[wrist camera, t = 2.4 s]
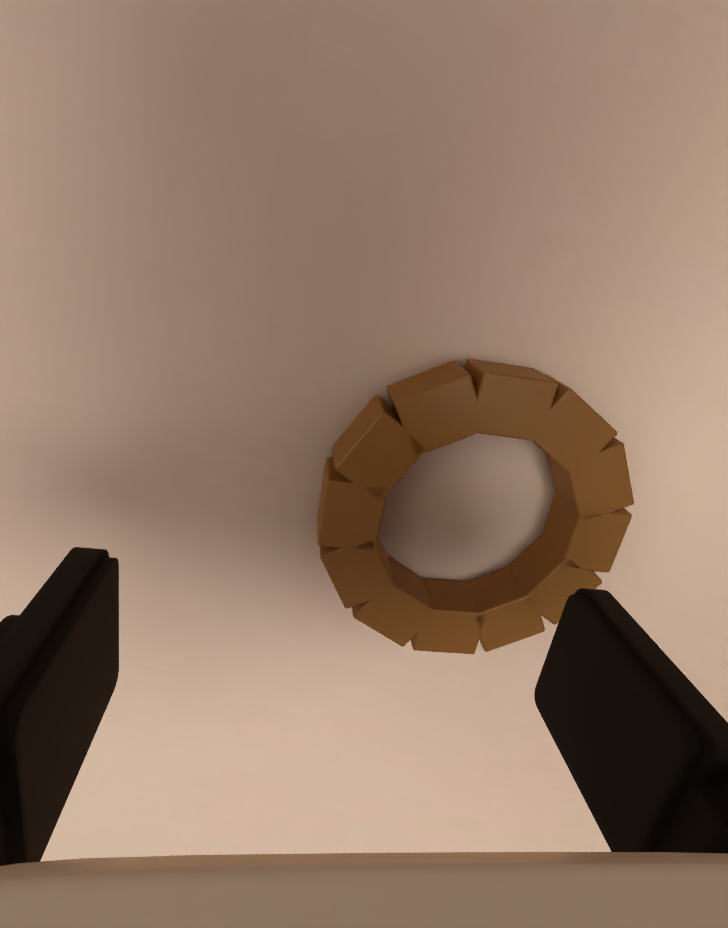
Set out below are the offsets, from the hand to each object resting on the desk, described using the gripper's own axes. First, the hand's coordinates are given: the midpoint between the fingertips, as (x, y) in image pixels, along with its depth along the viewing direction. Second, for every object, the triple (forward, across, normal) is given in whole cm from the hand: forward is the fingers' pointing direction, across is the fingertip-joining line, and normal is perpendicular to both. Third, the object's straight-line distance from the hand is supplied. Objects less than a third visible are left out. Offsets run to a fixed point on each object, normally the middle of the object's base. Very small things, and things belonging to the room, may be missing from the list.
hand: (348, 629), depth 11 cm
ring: (+5, -4, -1) cm, 7 cm away
